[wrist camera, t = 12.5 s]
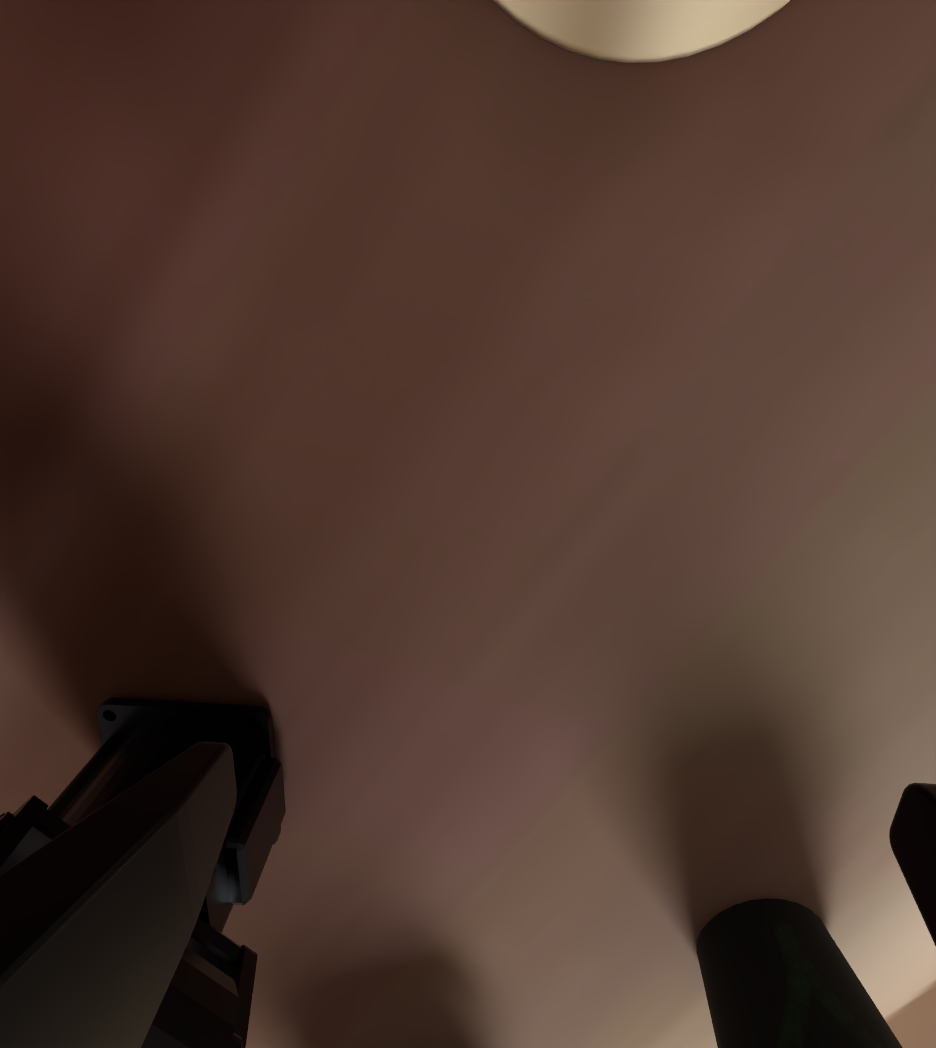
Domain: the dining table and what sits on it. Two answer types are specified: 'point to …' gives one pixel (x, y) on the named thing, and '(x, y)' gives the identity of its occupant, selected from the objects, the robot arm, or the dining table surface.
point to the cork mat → (639, 25)
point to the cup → (784, 982)
